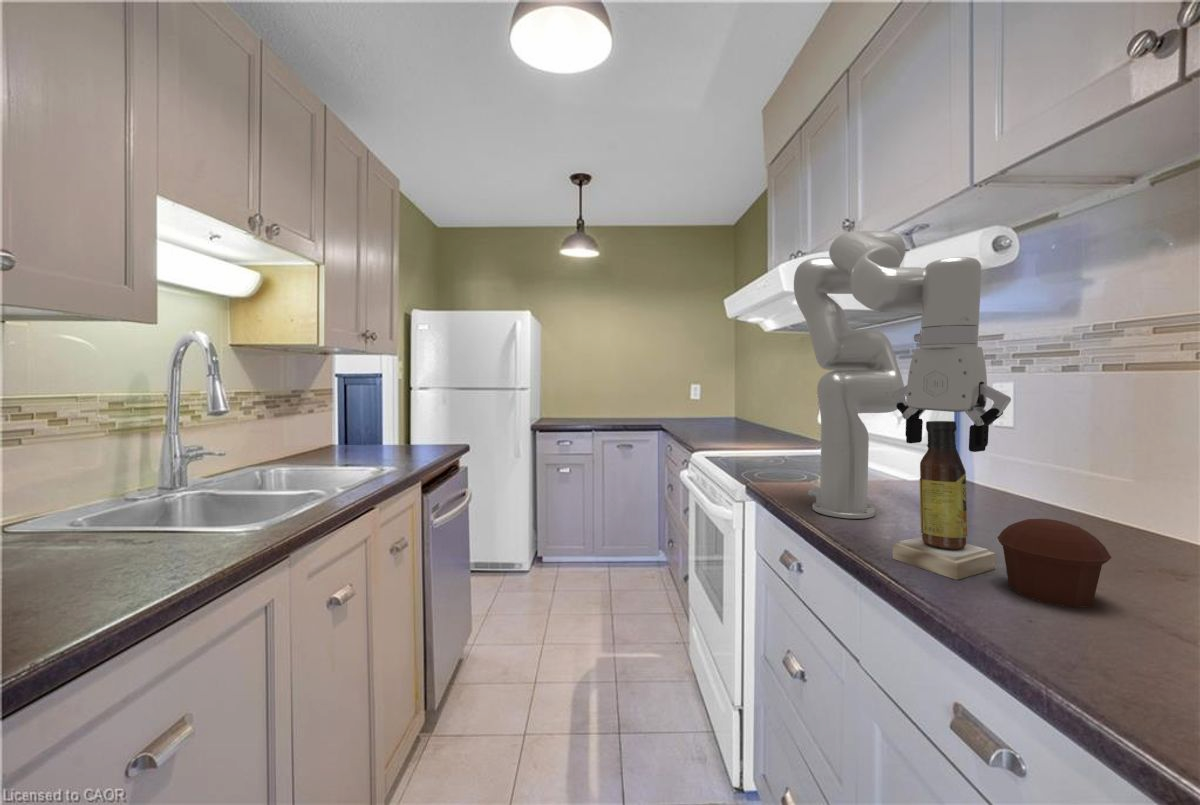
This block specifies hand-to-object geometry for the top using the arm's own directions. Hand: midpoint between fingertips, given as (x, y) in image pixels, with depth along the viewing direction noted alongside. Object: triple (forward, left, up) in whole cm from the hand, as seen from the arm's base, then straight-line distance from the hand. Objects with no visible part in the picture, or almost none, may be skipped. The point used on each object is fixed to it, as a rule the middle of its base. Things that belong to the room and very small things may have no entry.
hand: (943, 446), depth 81 cm
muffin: (+14, +1, -19) cm, 24 cm away
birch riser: (0, 0, -19) cm, 19 cm away
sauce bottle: (0, 0, -16) cm, 16 cm away
